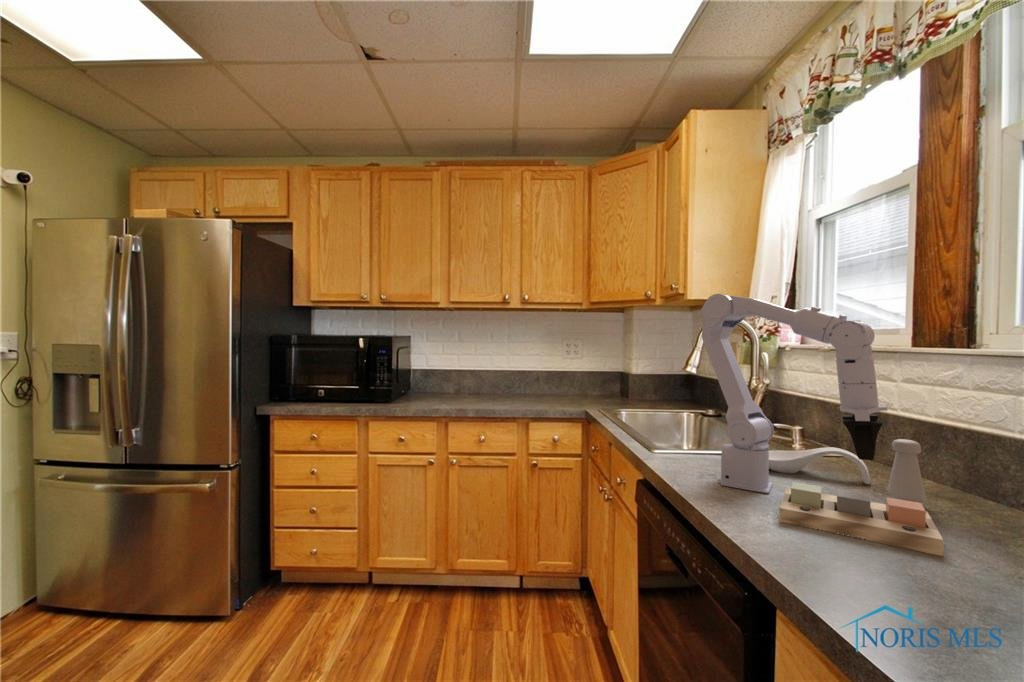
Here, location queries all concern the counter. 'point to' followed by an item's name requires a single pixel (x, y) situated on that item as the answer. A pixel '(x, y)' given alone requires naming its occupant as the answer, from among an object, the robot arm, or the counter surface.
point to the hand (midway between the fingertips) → (864, 455)
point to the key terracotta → (905, 512)
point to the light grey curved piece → (810, 460)
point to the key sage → (806, 494)
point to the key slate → (853, 503)
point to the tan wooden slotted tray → (862, 524)
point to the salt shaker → (906, 472)
